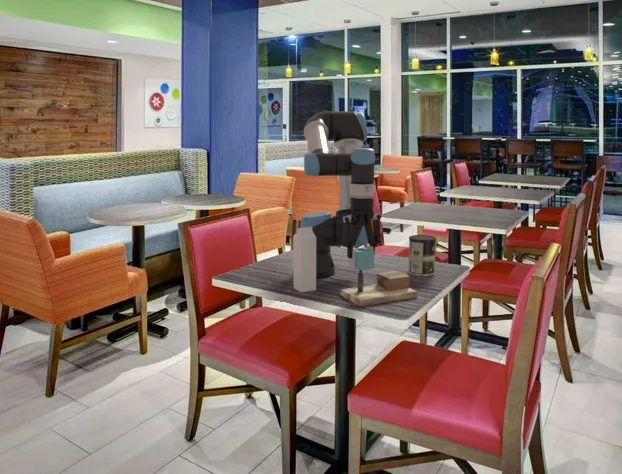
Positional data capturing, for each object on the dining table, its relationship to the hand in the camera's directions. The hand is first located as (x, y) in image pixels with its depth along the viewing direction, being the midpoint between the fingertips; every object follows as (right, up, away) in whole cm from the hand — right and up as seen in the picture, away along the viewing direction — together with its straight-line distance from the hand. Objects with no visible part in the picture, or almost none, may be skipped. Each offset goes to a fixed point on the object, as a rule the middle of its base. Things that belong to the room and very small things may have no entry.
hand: (360, 266), depth 180 cm
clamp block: (+12, -7, +7) cm, 16 cm away
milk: (-19, -9, +11) cm, 23 cm away
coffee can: (+26, -4, +32) cm, 42 cm away
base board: (+6, -10, +3) cm, 12 cm away
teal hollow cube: (0, 0, 0) cm, 0 cm away
